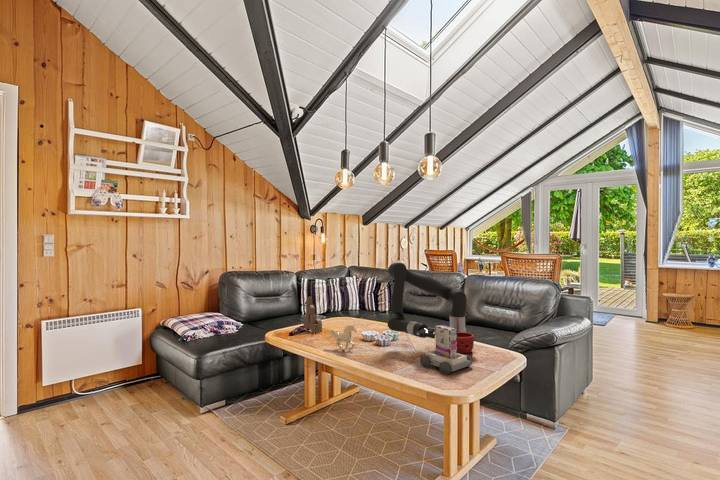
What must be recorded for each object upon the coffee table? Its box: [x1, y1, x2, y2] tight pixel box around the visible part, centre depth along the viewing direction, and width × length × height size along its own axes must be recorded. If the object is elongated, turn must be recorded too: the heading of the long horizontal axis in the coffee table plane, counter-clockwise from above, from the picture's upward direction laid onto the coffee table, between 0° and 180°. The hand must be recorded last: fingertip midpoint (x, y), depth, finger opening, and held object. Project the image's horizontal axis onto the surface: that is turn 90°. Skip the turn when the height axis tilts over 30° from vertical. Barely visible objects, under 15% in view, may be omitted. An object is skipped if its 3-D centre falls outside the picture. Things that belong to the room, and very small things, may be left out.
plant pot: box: [457, 332, 475, 358], centre depth 213 cm, size 13×13×12 cm
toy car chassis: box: [419, 348, 473, 375], centre depth 196 cm, size 18×20×6 cm
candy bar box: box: [435, 324, 457, 359], centre depth 195 cm, size 11×5×16 cm, turn 29°
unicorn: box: [329, 323, 358, 351], centre depth 226 cm, size 20×4×17 cm, turn 57°
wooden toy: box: [302, 296, 323, 334], centre depth 271 cm, size 16×7×25 cm, turn 43°
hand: (440, 335), depth 199 cm, fingers open, 8 cm apart
